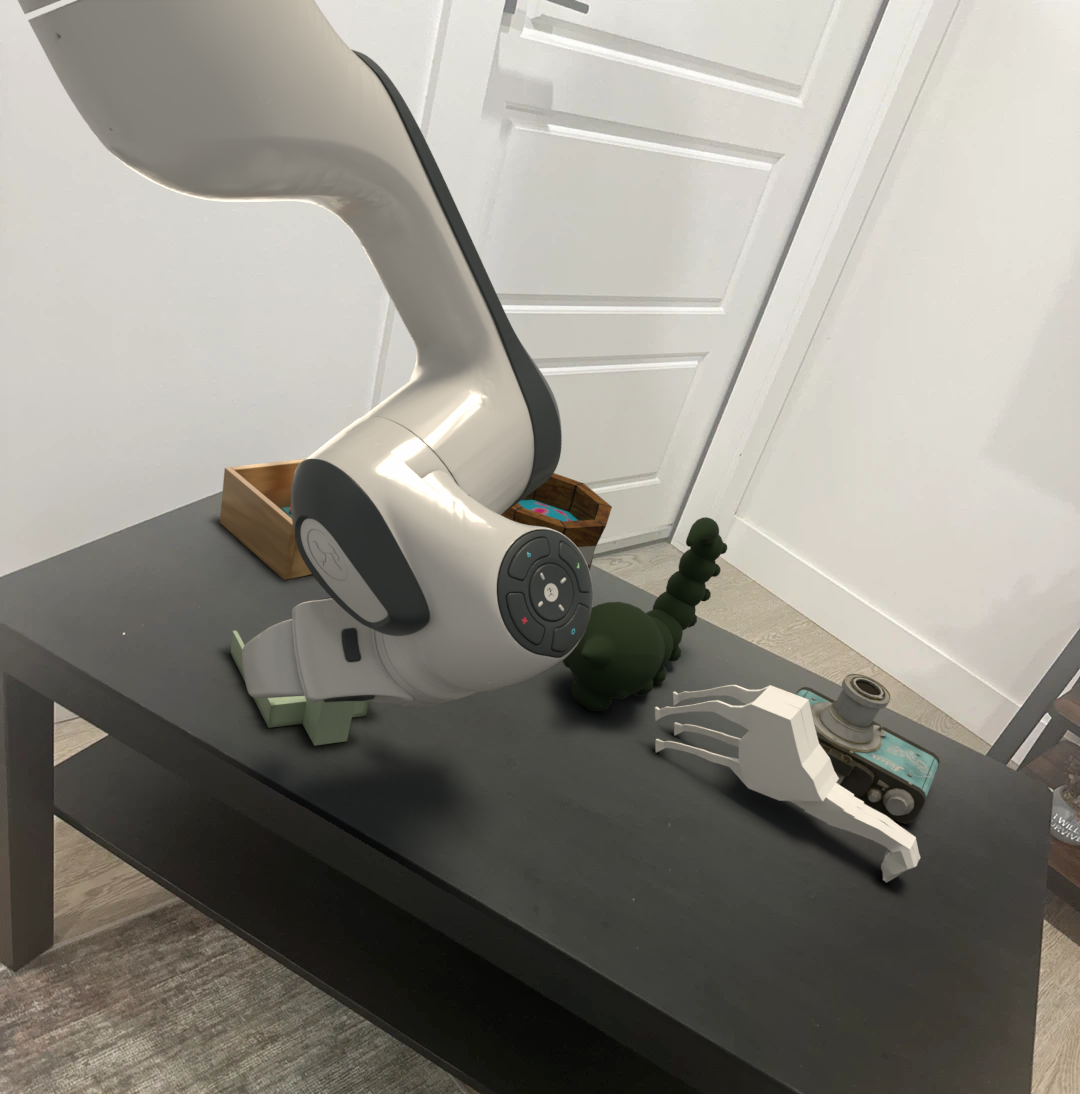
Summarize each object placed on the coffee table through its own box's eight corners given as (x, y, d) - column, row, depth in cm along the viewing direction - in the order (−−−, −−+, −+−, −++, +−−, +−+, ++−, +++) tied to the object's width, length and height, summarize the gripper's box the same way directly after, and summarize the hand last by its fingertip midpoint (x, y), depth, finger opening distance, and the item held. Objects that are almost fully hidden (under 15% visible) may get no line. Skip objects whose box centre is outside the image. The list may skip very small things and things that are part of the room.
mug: (593, 628, 112) (636, 511, 103) (531, 669, 101) (572, 542, 93) (459, 550, 118) (489, 433, 109) (387, 581, 107) (414, 454, 99)
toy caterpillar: (626, 640, 115) (515, 702, 95) (689, 492, 105) (580, 526, 85) (694, 680, 112) (594, 753, 92) (766, 531, 103) (671, 576, 82)
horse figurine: (655, 834, 100) (909, 900, 87) (653, 686, 93) (928, 734, 80) (676, 812, 103) (922, 873, 91) (675, 668, 96) (941, 712, 84)
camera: (970, 719, 99) (955, 762, 91) (924, 788, 104) (905, 834, 96) (822, 643, 103) (795, 678, 95) (785, 713, 109) (757, 752, 101)
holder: (283, 580, 102) (291, 524, 98) (219, 522, 108) (224, 467, 104) (378, 560, 110) (388, 508, 107) (314, 508, 116) (321, 456, 112)
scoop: (379, 737, 86) (400, 644, 80) (279, 750, 81) (294, 653, 76) (323, 645, 95) (338, 555, 89) (230, 652, 90) (240, 558, 84)
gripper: (543, 589, 72) (456, 623, 84) (273, 603, 61) (216, 641, 73) (556, 673, 72) (467, 696, 84) (288, 703, 61) (229, 725, 73)
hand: (349, 671), depth 78 cm, fingers open, 8 cm apart
